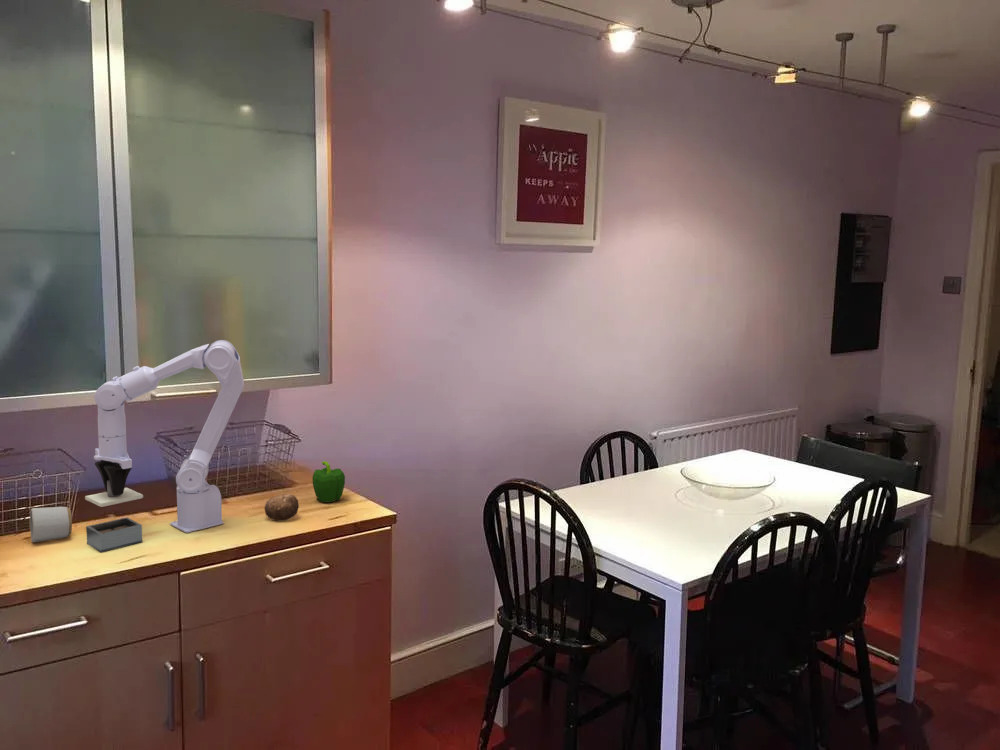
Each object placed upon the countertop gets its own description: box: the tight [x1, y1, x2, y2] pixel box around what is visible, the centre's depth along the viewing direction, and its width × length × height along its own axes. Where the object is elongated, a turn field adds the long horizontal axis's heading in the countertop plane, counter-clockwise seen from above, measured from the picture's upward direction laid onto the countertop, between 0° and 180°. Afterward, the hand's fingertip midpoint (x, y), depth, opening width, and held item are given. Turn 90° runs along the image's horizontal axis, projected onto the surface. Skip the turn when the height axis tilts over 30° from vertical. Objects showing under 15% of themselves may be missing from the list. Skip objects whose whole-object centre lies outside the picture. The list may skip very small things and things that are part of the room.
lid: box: [84, 480, 144, 508], centre depth 190 cm, size 10×8×4 cm
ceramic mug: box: [29, 506, 73, 543], centre depth 185 cm, size 10×8×7 cm
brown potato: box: [264, 493, 300, 522], centre depth 203 cm, size 8×8×6 cm
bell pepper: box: [312, 461, 346, 503], centre depth 217 cm, size 8×8×10 cm
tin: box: [85, 516, 143, 553], centre depth 183 cm, size 9×7×4 cm
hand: (114, 492), depth 190 cm, fingers closed on lid, 3 cm apart
